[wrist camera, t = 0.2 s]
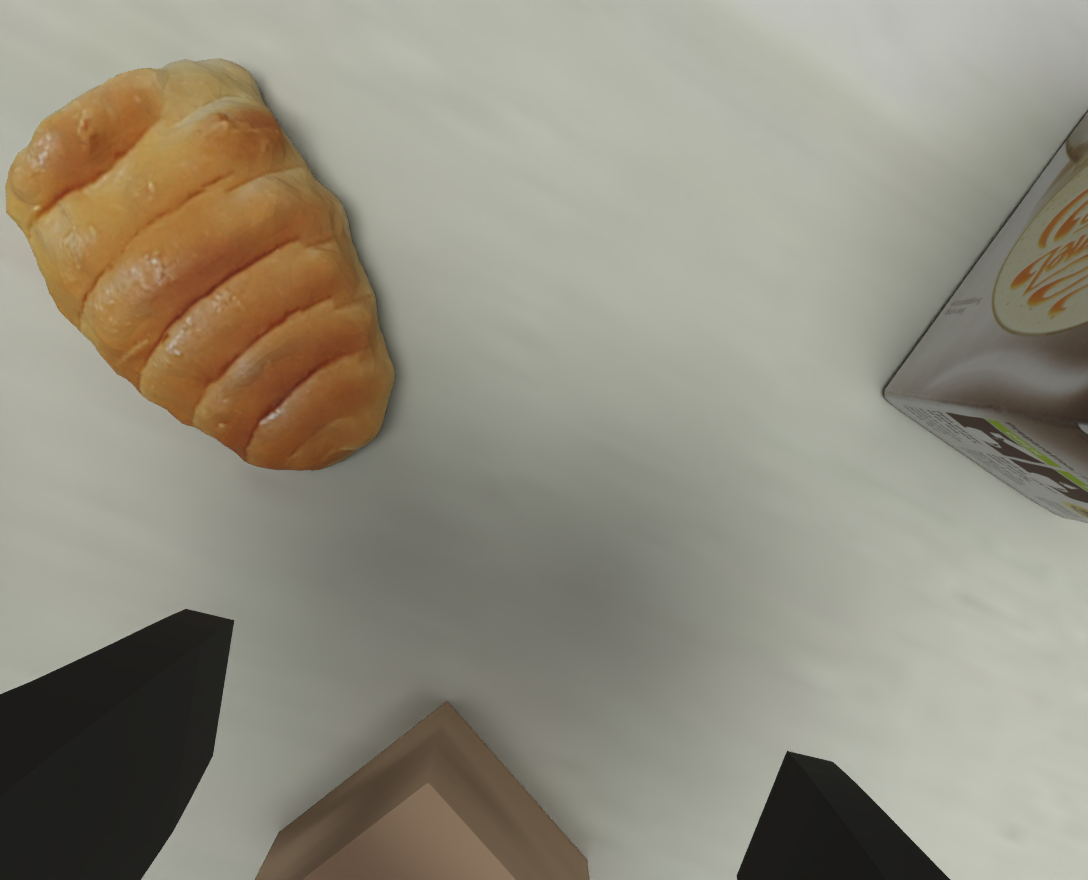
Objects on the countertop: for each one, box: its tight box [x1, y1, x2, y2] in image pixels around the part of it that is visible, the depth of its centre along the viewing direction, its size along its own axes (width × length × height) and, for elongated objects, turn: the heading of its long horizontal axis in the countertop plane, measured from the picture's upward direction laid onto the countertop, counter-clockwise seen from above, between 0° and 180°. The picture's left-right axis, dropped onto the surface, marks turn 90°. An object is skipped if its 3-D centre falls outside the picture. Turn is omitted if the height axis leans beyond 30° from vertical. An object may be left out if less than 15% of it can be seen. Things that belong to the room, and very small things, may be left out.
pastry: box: [5, 59, 395, 471], centre depth 18 cm, size 9×7×4 cm
